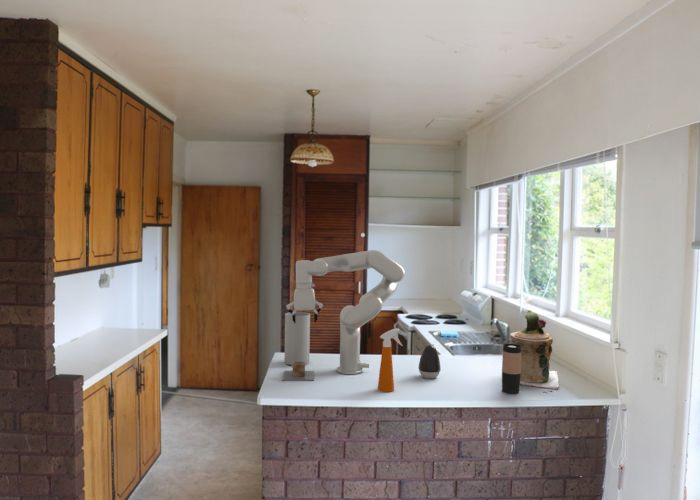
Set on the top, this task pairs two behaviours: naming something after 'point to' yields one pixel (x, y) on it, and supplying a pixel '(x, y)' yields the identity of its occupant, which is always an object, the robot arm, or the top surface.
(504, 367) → the travel mug
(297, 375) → the walnut block
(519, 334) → the cookie jar
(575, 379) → the top surface
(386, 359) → the spray bottle
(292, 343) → the cylinder vase
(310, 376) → the slate coaster
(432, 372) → the black egg ornament
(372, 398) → the top surface
